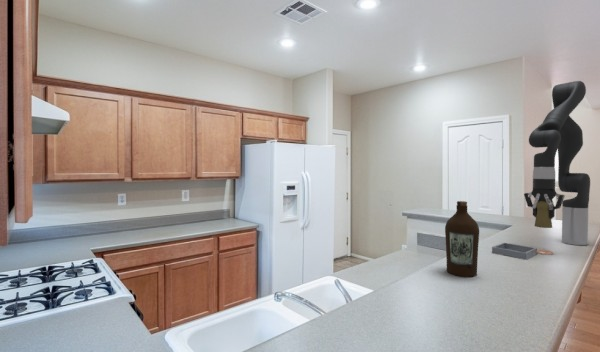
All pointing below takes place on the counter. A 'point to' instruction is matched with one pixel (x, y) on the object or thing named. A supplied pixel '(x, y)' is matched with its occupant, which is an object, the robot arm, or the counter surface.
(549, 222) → the cork
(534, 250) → the bin frame
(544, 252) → the salmon pink disc
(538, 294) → the counter surface
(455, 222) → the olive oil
